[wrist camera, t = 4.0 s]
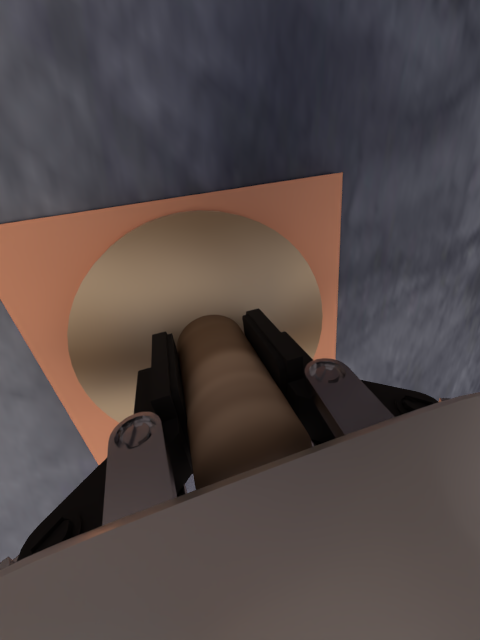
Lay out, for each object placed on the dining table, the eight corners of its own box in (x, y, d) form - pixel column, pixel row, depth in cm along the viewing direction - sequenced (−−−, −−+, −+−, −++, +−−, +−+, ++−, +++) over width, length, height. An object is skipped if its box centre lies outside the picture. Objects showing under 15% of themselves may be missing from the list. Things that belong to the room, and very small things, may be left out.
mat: (-29, 228, 9) (-41, 230, 8) (334, 173, 12) (342, 172, 11) (101, 456, 14) (99, 466, 14) (328, 383, 17) (334, 389, 17)
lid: (19, 238, 9) (-267, 324, 3) (310, 190, 11) (500, 183, 5) (125, 450, 14) (102, 646, 8) (312, 389, 16) (408, 508, 10)
